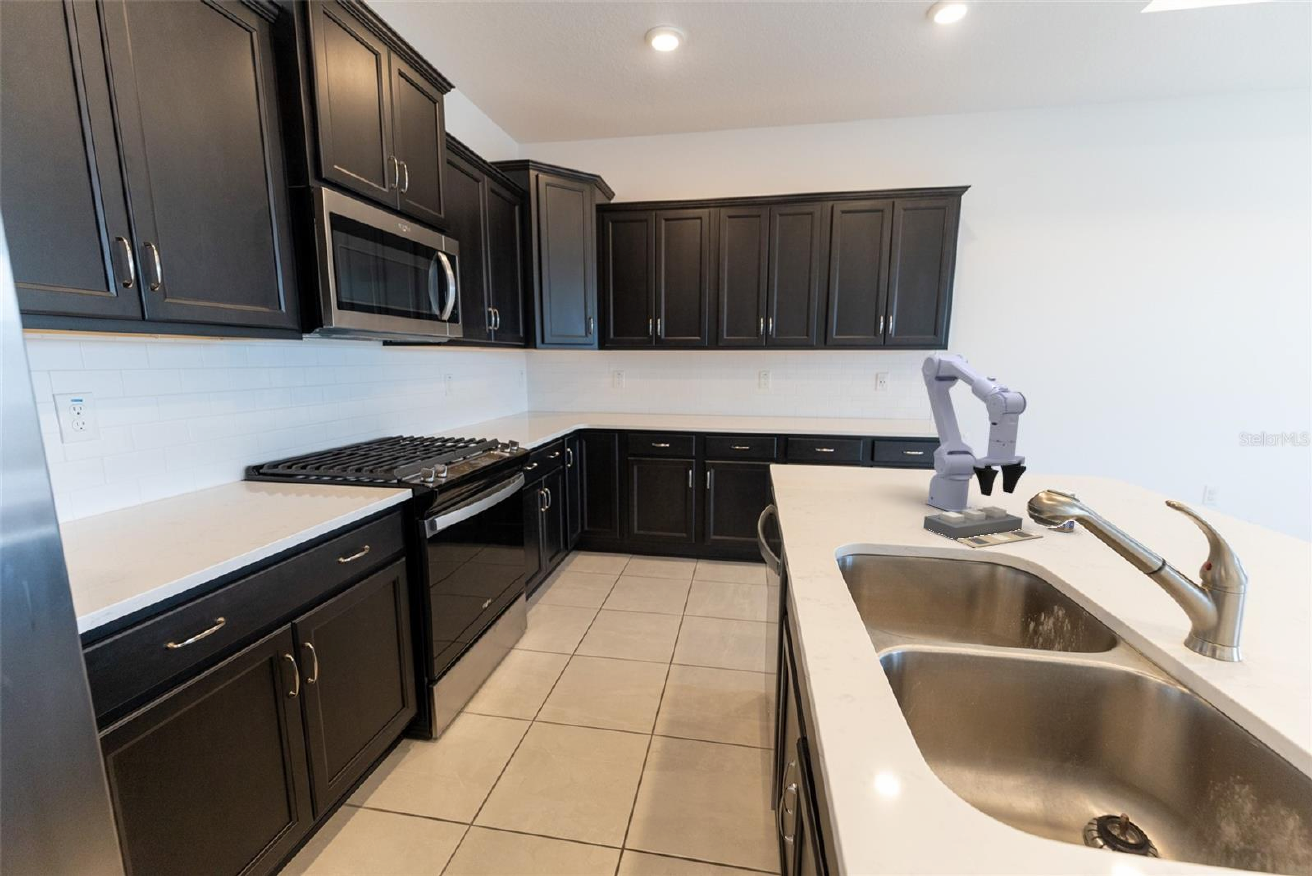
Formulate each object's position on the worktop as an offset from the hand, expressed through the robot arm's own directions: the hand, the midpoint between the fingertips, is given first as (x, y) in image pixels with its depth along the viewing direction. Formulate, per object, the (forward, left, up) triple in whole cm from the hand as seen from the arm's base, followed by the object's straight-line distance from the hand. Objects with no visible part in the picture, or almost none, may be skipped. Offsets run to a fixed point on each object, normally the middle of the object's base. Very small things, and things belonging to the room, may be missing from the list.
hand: (996, 493), depth 132 cm
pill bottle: (+7, +14, -9) cm, 18 cm away
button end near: (0, -14, -7) cm, 16 cm away
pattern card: (+7, -7, -9) cm, 13 cm away
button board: (0, -7, -9) cm, 11 cm away
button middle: (0, -7, -7) cm, 10 cm away
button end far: (0, 0, -7) cm, 7 cm away
